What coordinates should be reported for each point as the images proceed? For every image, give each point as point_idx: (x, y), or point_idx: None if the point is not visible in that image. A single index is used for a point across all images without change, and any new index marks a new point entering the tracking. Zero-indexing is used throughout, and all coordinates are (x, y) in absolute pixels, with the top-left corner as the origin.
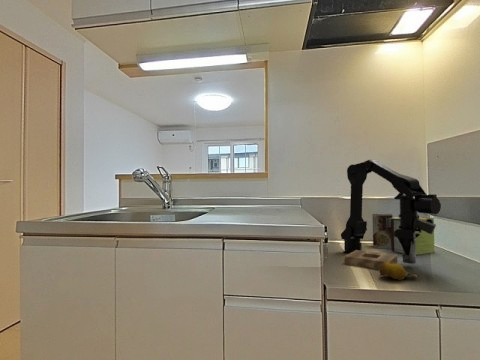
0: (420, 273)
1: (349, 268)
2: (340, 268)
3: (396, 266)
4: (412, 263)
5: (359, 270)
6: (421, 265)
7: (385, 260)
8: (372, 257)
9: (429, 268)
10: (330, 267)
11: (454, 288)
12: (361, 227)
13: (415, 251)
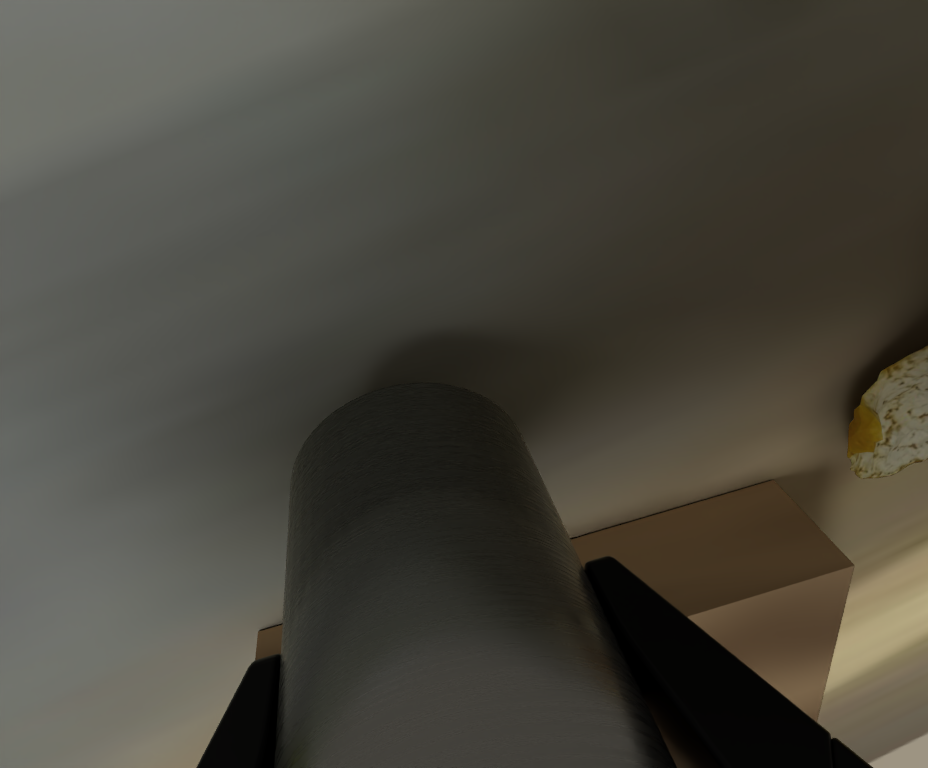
0: (645, 142)
1: (866, 677)
2: (900, 699)
3: None
4: (493, 403)
5: (897, 614)
6: (30, 381)
7: (749, 637)
8: None
9: (106, 177)
10: (903, 736)
11: None
12: None
13: (452, 588)
